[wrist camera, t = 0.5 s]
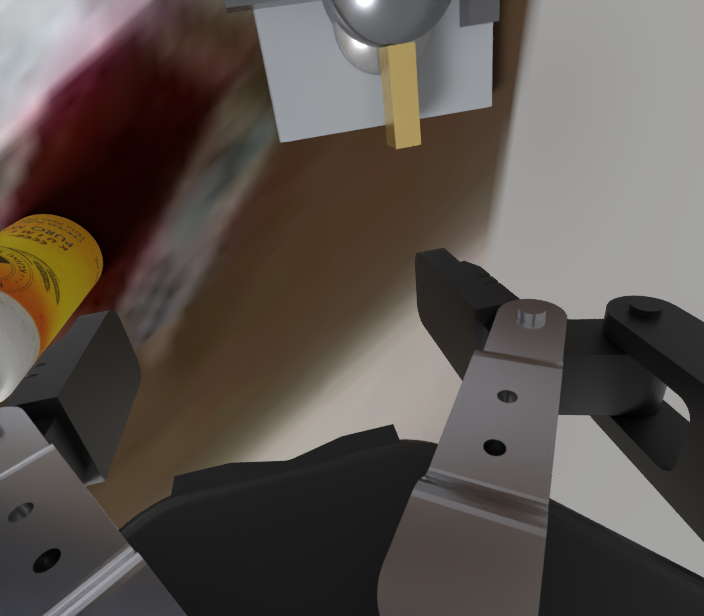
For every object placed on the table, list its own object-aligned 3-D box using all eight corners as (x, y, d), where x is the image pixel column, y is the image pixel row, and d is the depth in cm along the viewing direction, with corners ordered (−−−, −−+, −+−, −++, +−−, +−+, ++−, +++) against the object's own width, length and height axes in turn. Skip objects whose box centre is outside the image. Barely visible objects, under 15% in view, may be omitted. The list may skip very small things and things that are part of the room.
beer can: (93, 208, 31) (-24, 302, 18) (115, 287, 33) (28, 420, 20) (-5, 213, 30) (-207, 318, 17) (26, 295, 32) (-125, 440, 19)
